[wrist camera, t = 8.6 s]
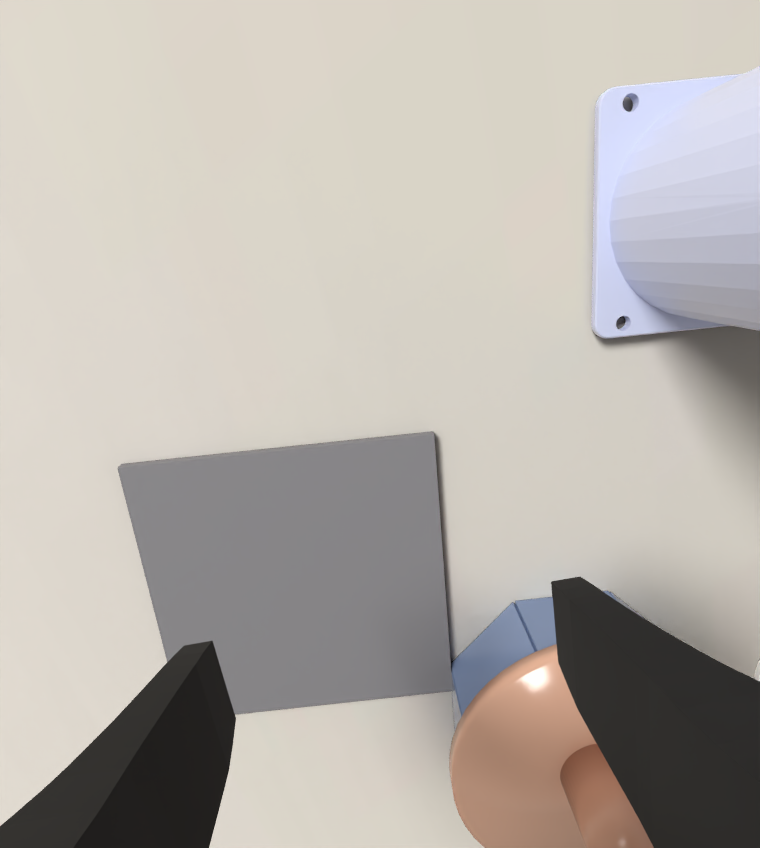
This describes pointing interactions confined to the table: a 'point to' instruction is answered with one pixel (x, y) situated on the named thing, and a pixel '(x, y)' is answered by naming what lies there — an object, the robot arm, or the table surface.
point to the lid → (536, 767)
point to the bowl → (503, 647)
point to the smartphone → (757, 672)
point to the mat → (300, 567)
